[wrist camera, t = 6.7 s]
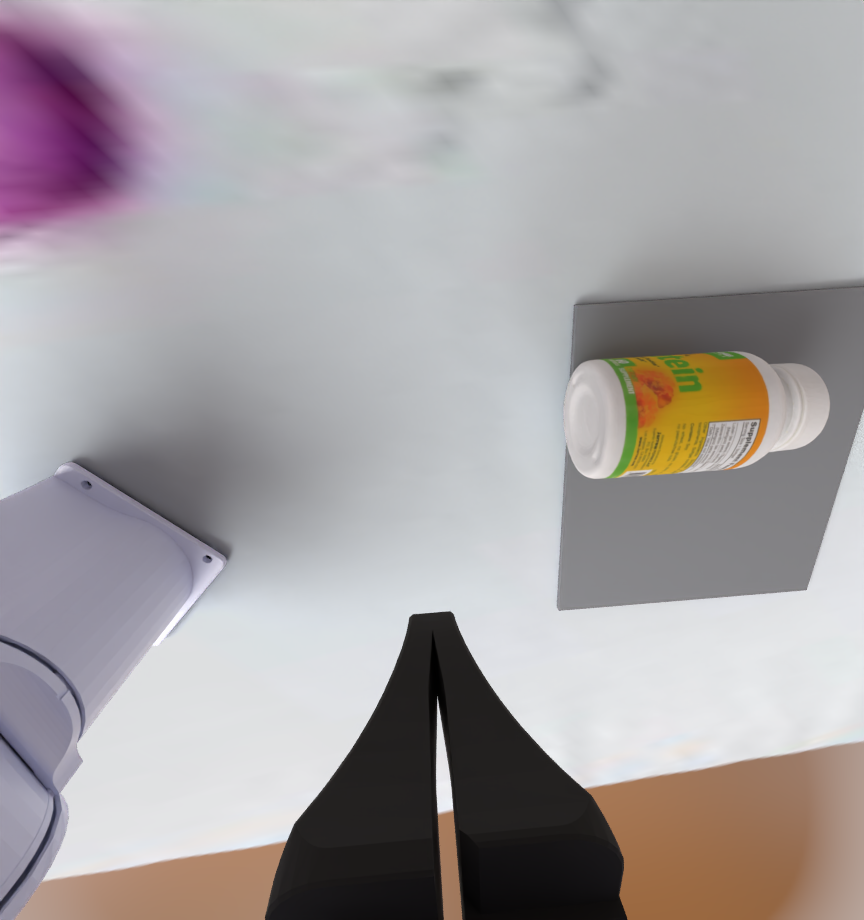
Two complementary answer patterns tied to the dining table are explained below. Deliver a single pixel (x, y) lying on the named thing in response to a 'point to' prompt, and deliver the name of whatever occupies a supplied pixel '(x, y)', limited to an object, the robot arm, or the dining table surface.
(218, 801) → the dining table surface
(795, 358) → the slate mat
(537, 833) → the robot arm
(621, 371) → the supplement bottle
